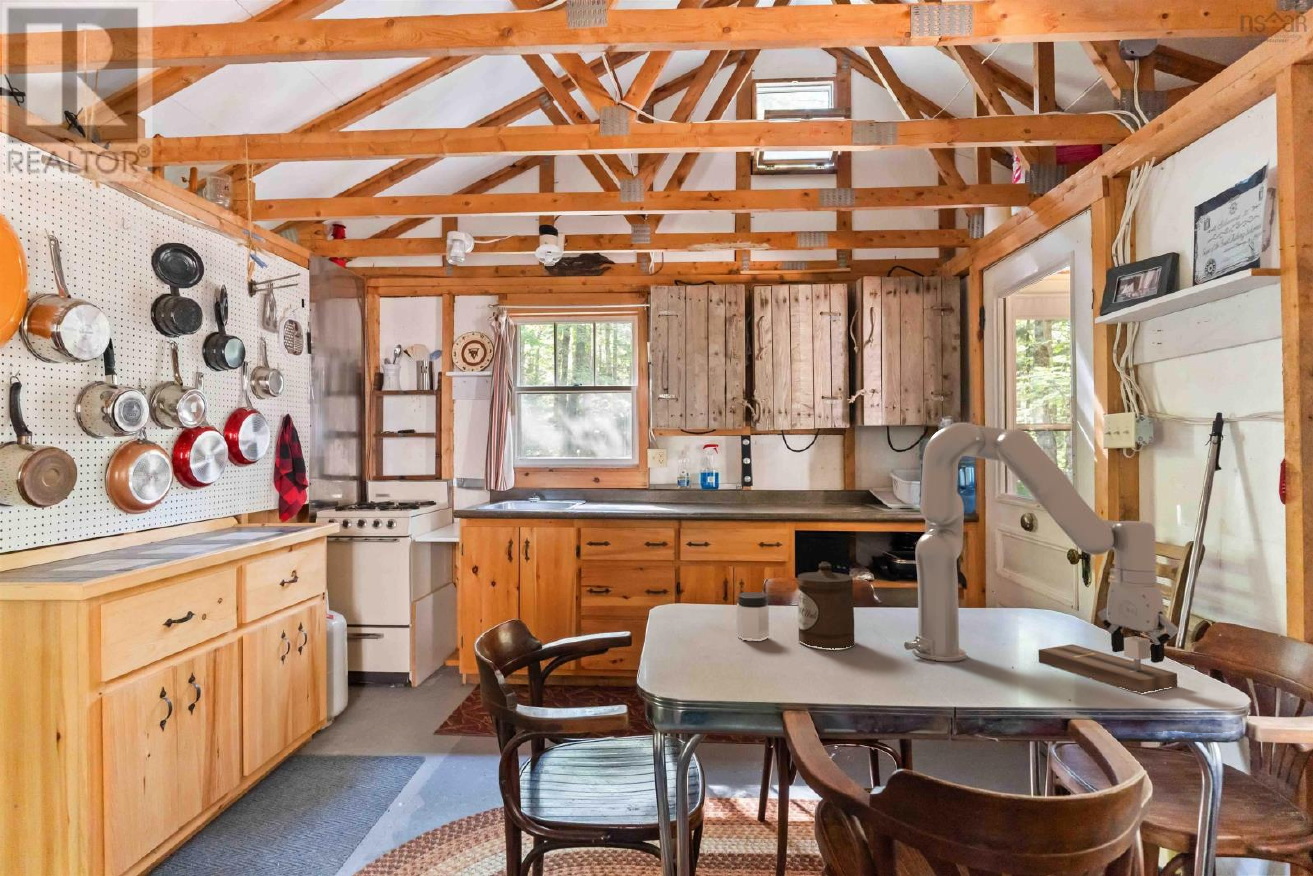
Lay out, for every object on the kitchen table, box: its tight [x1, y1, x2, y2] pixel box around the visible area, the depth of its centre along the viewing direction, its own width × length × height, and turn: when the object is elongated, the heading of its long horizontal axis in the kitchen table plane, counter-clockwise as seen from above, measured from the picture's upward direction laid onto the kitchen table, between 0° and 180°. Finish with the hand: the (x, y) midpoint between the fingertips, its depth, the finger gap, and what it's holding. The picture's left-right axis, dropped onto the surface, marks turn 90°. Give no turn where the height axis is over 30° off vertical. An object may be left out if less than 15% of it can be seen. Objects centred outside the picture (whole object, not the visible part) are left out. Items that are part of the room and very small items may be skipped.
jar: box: [736, 591, 770, 639], centre depth 185 cm, size 9×8×12 cm
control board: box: [1038, 644, 1178, 693], centre depth 153 cm, size 12×24×3 cm, turn 22°
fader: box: [1123, 635, 1151, 670], centre depth 146 cm, size 4×3×7 cm
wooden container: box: [797, 561, 855, 649], centre depth 179 cm, size 15×15×22 cm
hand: (1137, 656), depth 146 cm, fingers open, 7 cm apart
